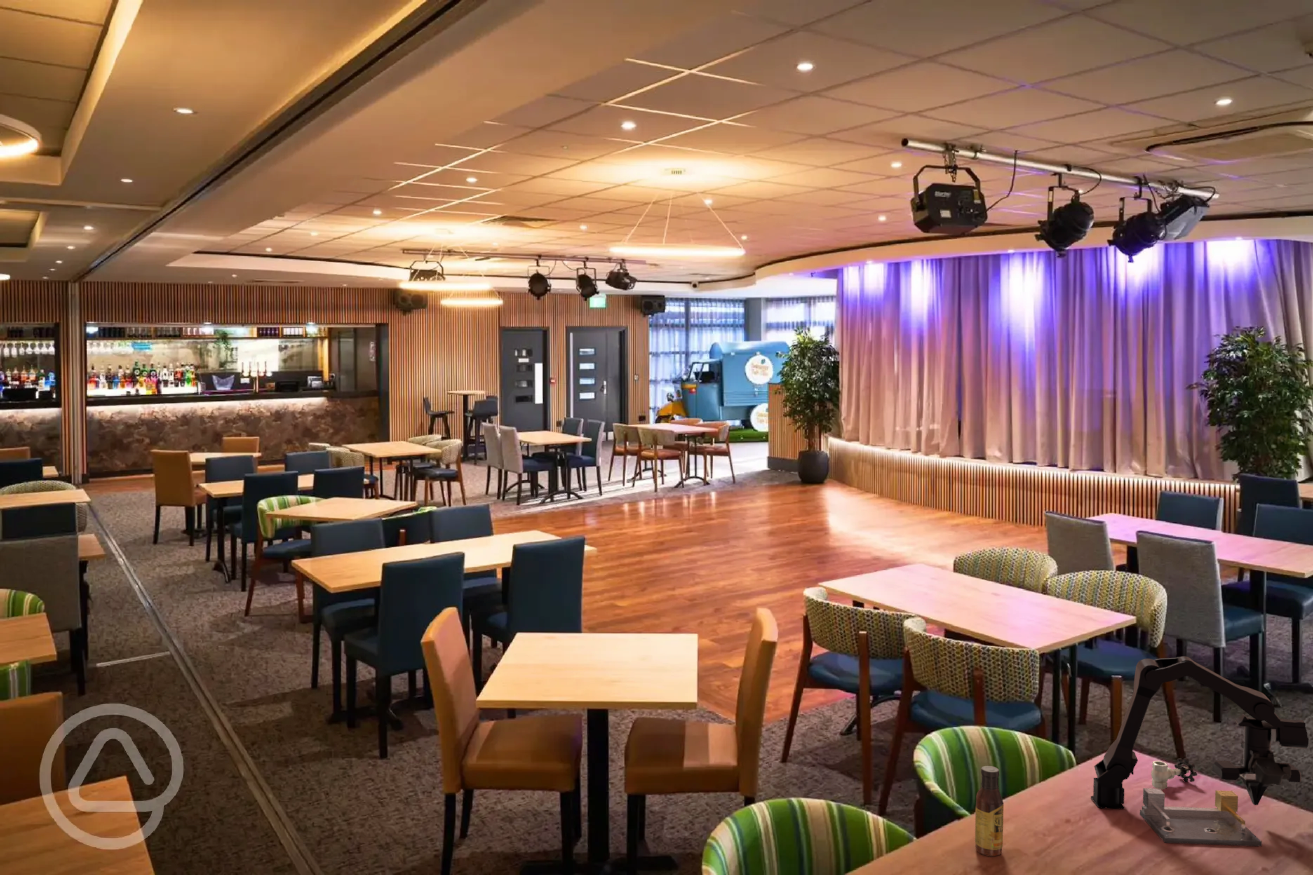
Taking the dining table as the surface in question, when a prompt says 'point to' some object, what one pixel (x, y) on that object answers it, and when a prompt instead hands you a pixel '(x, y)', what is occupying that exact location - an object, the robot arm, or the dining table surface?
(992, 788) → the sauce bottle
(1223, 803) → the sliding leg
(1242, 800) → the dining table surface
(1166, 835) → the bolt plate dividers
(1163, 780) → the valve
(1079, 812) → the dining table surface
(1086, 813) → the dining table surface
